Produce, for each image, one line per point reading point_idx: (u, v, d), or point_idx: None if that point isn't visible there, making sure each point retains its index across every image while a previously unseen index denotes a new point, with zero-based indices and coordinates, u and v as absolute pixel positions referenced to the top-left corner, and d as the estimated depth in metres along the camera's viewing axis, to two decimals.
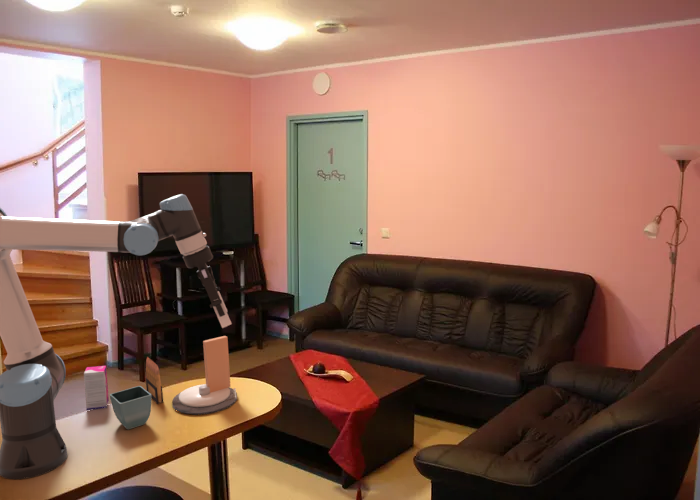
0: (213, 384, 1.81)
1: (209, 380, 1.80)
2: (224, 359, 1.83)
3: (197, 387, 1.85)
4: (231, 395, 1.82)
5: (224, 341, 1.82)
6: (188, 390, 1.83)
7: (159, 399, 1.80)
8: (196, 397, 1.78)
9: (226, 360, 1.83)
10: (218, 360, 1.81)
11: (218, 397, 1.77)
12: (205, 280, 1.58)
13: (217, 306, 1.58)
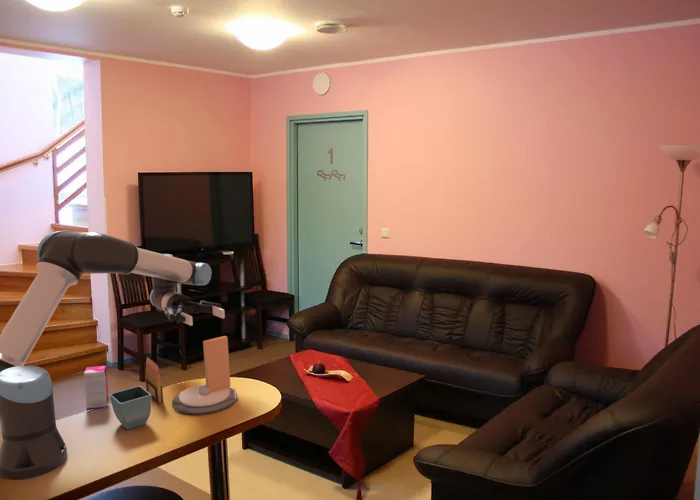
0: (213, 384, 1.81)
1: (209, 380, 1.80)
2: (224, 359, 1.83)
3: (197, 387, 1.85)
4: (231, 395, 1.82)
5: (224, 341, 1.82)
6: (188, 390, 1.83)
7: (159, 399, 1.80)
8: (196, 397, 1.78)
9: (226, 360, 1.83)
10: (218, 360, 1.81)
11: (218, 397, 1.77)
12: None
13: None
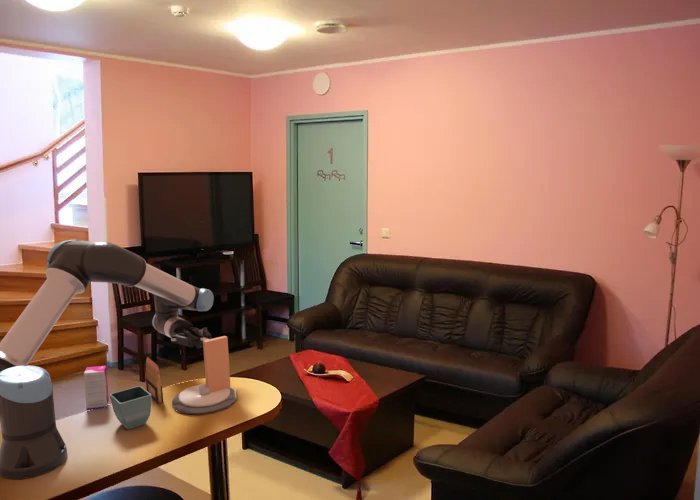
0: (213, 384, 1.81)
1: (209, 380, 1.80)
2: (224, 359, 1.83)
3: (197, 387, 1.85)
4: (231, 395, 1.82)
5: (224, 341, 1.82)
6: (188, 390, 1.83)
7: (159, 399, 1.80)
8: (196, 397, 1.78)
9: (226, 360, 1.83)
10: (218, 360, 1.81)
11: (218, 397, 1.77)
12: None
13: (208, 339, 1.91)
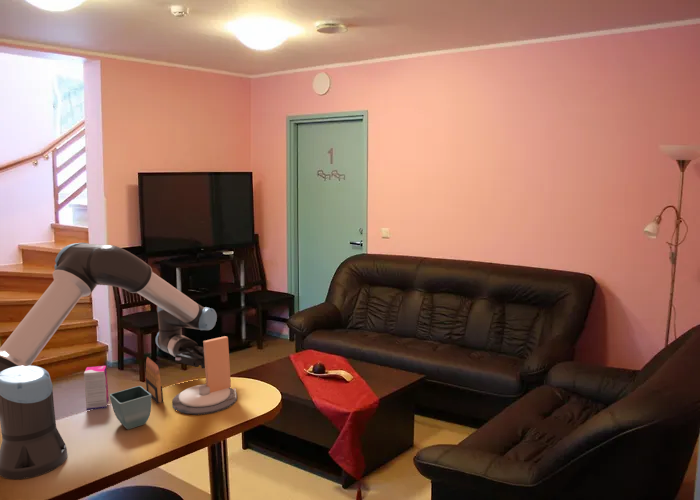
0: (213, 384, 1.81)
1: (209, 380, 1.80)
2: (224, 360, 1.82)
3: (198, 387, 1.85)
4: (231, 395, 1.82)
5: (225, 341, 1.82)
6: (189, 389, 1.84)
7: (159, 399, 1.80)
8: (196, 397, 1.78)
9: (227, 361, 1.83)
10: (218, 360, 1.81)
11: (217, 398, 1.77)
12: None
13: None
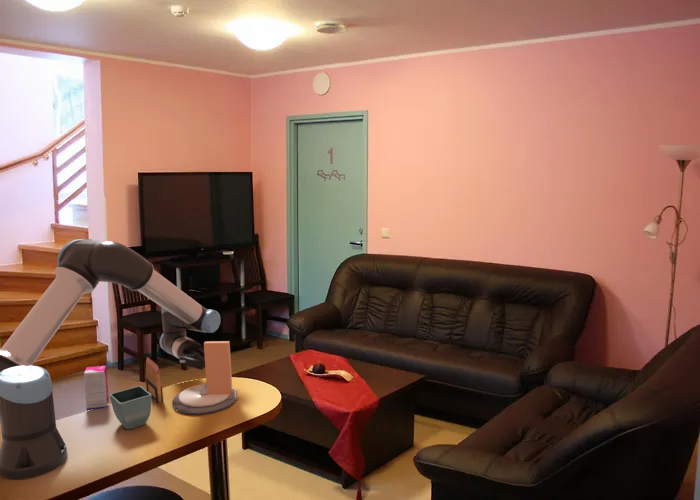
0: (212, 387, 1.79)
1: (207, 382, 1.79)
2: (224, 365, 1.78)
3: None
4: (231, 395, 1.82)
5: (225, 347, 1.77)
6: (201, 385, 1.86)
7: (159, 399, 1.80)
8: (193, 395, 1.80)
9: (227, 367, 1.78)
10: (217, 364, 1.78)
11: (204, 401, 1.75)
12: None
13: None
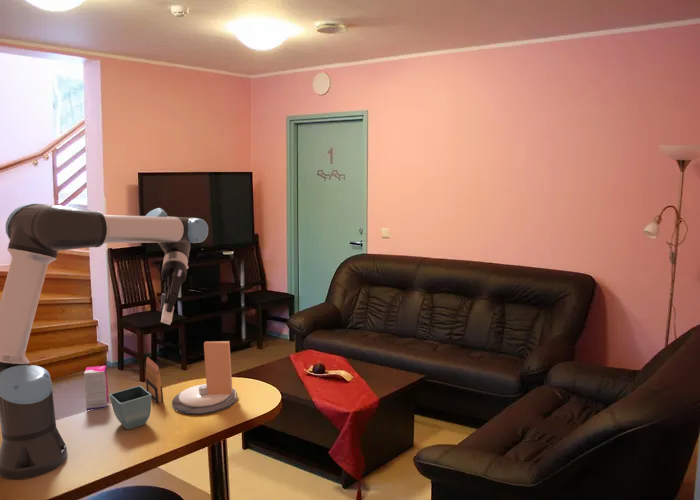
0: (212, 387, 1.79)
1: (207, 382, 1.79)
2: (224, 365, 1.78)
3: None
4: (231, 395, 1.82)
5: (225, 347, 1.77)
6: (201, 385, 1.86)
7: (159, 399, 1.80)
8: (193, 395, 1.80)
9: (227, 367, 1.78)
10: (217, 364, 1.78)
11: (204, 401, 1.75)
12: (176, 277, 1.79)
13: (170, 301, 1.75)
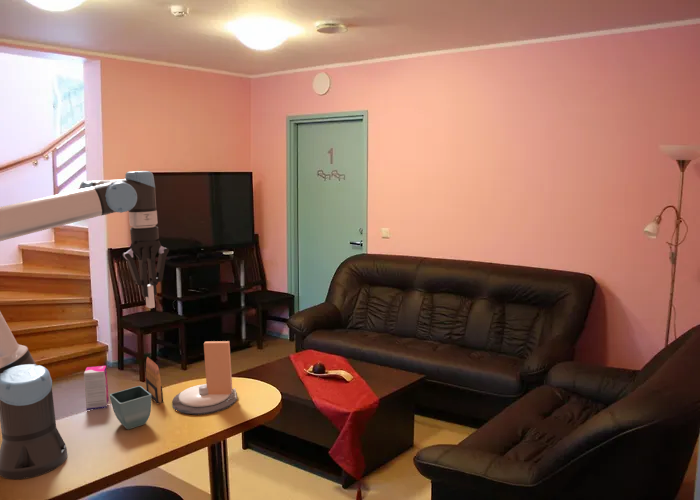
0: (212, 387, 1.79)
1: (207, 382, 1.79)
2: (224, 365, 1.78)
3: None
4: (231, 395, 1.82)
5: (225, 347, 1.77)
6: (201, 385, 1.86)
7: (159, 399, 1.80)
8: (193, 395, 1.80)
9: (227, 367, 1.78)
10: (217, 364, 1.78)
11: (204, 401, 1.75)
12: (128, 262, 1.68)
13: (141, 286, 1.71)
